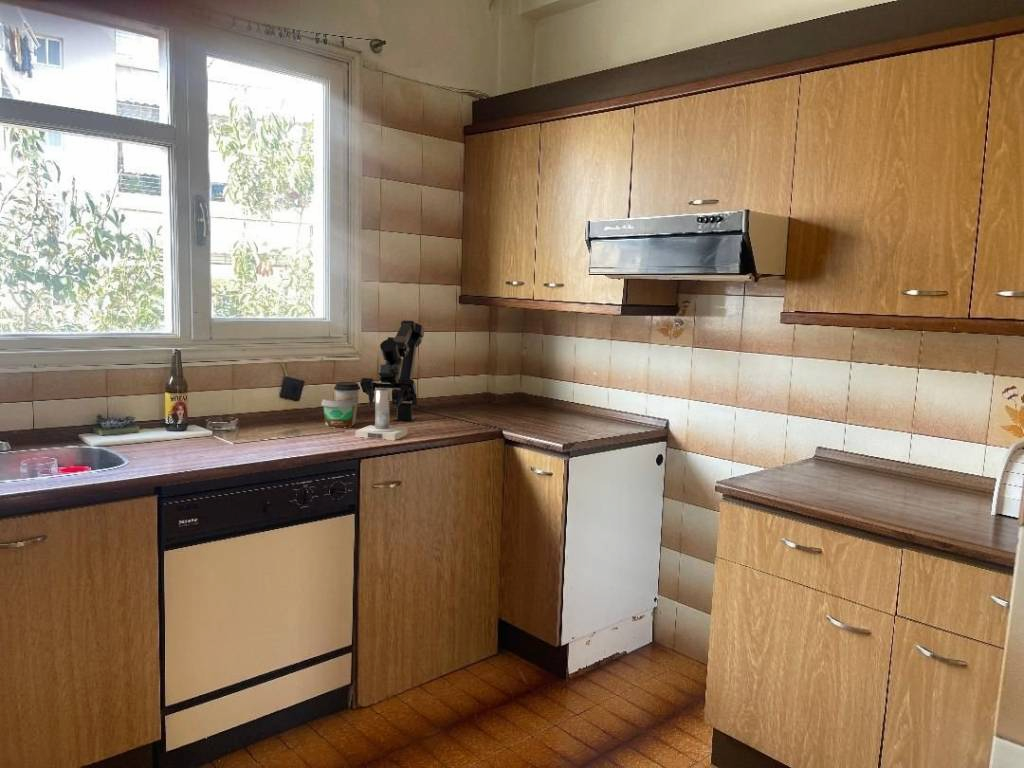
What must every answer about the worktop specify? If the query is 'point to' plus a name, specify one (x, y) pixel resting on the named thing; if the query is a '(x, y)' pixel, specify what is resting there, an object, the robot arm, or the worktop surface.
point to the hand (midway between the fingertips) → (383, 405)
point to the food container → (338, 413)
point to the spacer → (382, 408)
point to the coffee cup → (347, 393)
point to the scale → (381, 433)
